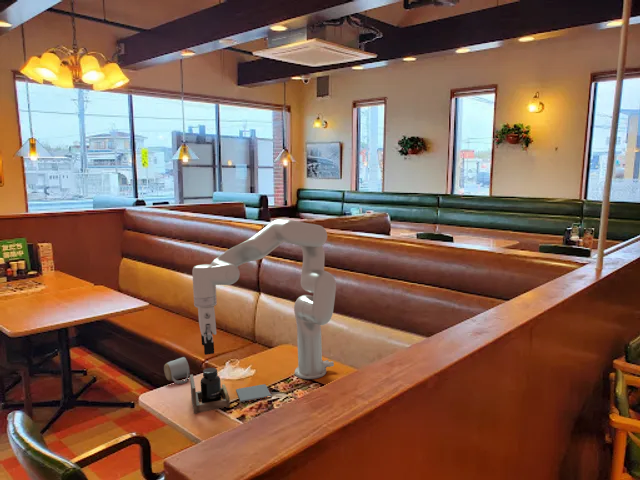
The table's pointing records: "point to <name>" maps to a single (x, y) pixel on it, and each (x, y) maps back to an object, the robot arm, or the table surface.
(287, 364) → the table surface
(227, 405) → the dispenser stand
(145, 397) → the table surface
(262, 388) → the rubber pad
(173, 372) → the ceramic mug
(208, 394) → the supplement bottle
